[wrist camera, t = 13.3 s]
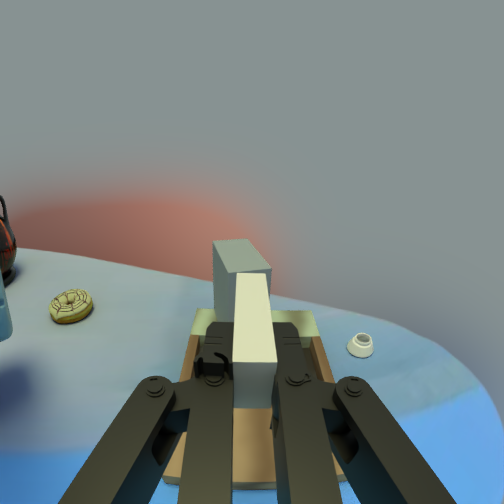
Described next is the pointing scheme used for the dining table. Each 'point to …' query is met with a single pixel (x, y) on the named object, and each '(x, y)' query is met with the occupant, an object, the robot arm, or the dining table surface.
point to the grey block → (233, 273)
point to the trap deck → (253, 420)
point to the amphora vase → (6, 247)
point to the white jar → (360, 345)
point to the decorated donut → (70, 306)
